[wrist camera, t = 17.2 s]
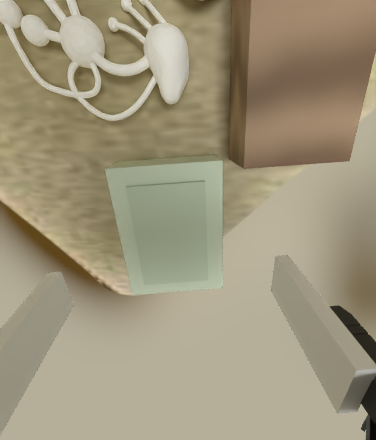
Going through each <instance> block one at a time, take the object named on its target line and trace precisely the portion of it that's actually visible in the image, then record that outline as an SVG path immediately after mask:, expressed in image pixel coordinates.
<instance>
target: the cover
mask: <svg viewBox="0 0 376 440" xmlns="http://www.w3.org/2000/svg"><path fill="white" fill-rule="evenodd" d="M105 174H106V178H107V183H108V187H109V192H110V196H111V201H112V205H113V210H114V214H115V219H116V223H117V228H118V232H119V237H120V241H121V246H122V250H123V255H124V259H125V264H126V268H127V273H128V277H129V282H130V286H131V291H132V295H142V294H152V293H153V294H154V293H167V292H177V291H178V292H179V291H191V290H204V289H215V288H222V287H223V282H222V281H223V276H222V275H223V272H222V271H223V268H222V267H223V260H222V259H223V247H222V246H223V160H222V159H220V158H219V157H218V156H217V155H203V156H189V157H175V158H162V159H148V160H134V161H121V162H115V163H114V164H112V165H110V166H109V167H107V168H105Z"/></svg>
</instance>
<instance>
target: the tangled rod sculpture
mask: <svg viewBox="0 0 376 440" xmlns="http://www.w3.org/2000/svg"><path fill="white" fill-rule="evenodd" d="M66 1H67V4H68V7H69V10H70V13H71V16H69V17H67V16H66V15H65V14H64V12H63V11H62V10H61V8H60V7H59V6H58V4H57V3H56V2H55V0H44V2H45V3H46V4H47V6H48V7H49V8H50V9H51V11H52V12H53V13H54V15H55V16H56V17H57V19H58V20H59V21H60V23H61V28H60V31H59V32H55V31H52V30H49V29H48V27H47V26H46V24H45V23H44V22H43V21H42V20H41V19H40V18H39V17H37V16H35V15H30V14H29V15H25V16H24V17H23V15H22V12H21V9H20V8H19V6H18V5H17V4H16V3H15V2H14V1H13V0H0V22H1V23H2V24H3V25H4V27H5V29H6V31H7V33H8V36H9V38H10V40H11V42H12V44H13V45H14V47H15V49H16V51H17V53H18V54H19V56H20V58H21V60H22V62H23V63H24V65H25V66H26V68H27V69H28V71H29V72H30V73H31V75H32V76H33V77H34V79H35V80H36V81H37V82H38V83H39V84H40V85H41V86H42V87H44V88H46V89H48V90H49V91H52V92H55V93H58V94H61V95H64V96H68V97H73V98H77V100H78V101H79V102H80V103H81V104H82V105H83V106H84V107H86V108H87V109H88V110H89V111H90V112H91V113H93V114H95V115H96V116H98V117H100V118H102V119H105V120H108V121H118V120H122V119H125V118H127V117H129V116H130V115H132V114H133V113H135V112H136V111H137V110H138V109H139V108H140V107H141V106H142V104H143V103H144V102H145V101H146V99H147V98H148V96H149V95H150V93H151V91H152V89H153V88H154V86H155V84H156V83H157V84H158V86H159V89H160V93H161V96H162V98H163V99H164V100H165V102H166V103H168V104H175V103H177V102H178V100H179V99H180V97H181V95H182V92H183V90H184V88H185V86H186V83H187V81H188V77H189V54H188V45H187V42H186V39H185V37H184V35H183V34H182V32H181V31H180V30H179V29H178V28H177V27H176V26H174V25H172V24H169V23H167V22H166V21H165V20H164V18H163V17H162V16H161V15H160V13H159V12H158V11H157V10H156V9H155V7H154V6H153V5H152V4H151V3H150V2H149V1H150V0H139V1H140V3H141V4H142V5H144V6H146V7H147V8H148V9H149V10H150V12H151V13H152V14H153V15H154V17H155V18H156V19H157V20H158V21H159V24H155V25H154V26H151V25H150V24H149V23H148V22H147V21H146V20H145V19H144V18H143V17H142V16H141V15H140V14H139V13H138V12H137V11H136V10H135V9H134V8H133V7H132V2H131V0H121V6H122V8H123V10H124V11H126V12H130V13H131V14H132V15H133V16H134V17H135V18H136V19H137V20H138V21H139V22H140V23H141V24H142V25H143V26H144V27H145V28H146V29H147V30H148V33H147V35H146V38H145V37H144V36H142V35H141V34H140V33H139V32H138V31H136V30H134V29H133V28H131V27H129V26H127V25H126V24H122V23H119V22H118V20H117V19H116V18H113V17H111V18H109V20H108V26H109V28H110V29H111V30H112V31H113V32H116V31H118V29H120V30H124V31H126V32H128V33H130V34H131V35H133V36H135V37H136V38H137V39H138V40H139V41H141V42H142V43H143V44H144V57H142V58H141V59H140V60H138V61H137V62H135V63H131V64H124V65H122V64H116V63H112V62H110V61H108V60H106V59H105V58H104V54H105V43H104V39H103V35H102V33H101V31H100V30H99V28H98V27H97V26H96V25H95V24H94V23H93V22H92V21H91V20H90V19H88V18H87V17H84V16H81V15H80V12H79V9H78V6H77V3H76V0H66ZM200 1H202V0H200ZM20 26H21V30H22V32H23V34H24V36H25V37H26V38H27V40H28V41H29V42H31V43H32V44H34V45H36V46H40V47H41V46H45V45H46V44H48V43H49V40H52V41H55V42H59V43H61V45H62V47H63V50H64V51H65V53H66V54H67V56H68V57H69V58H70V59H71V60H72V63H71V64H70V65H69V68H68V74H67V79H68V84H69V86H70V89H71V90H67V89H63V88H60V87H56V86H53V85H51V84H49V83H47V82H46V81H44V80H43V79H42V78H41V77H40V75H39V74H38V73H37V72H36V70H35V69H34V67H33V66H32V64H31V63H30V61H29V59H28V58H27V56H26V54H25V53H24V51H23V49H22V48H21V46H20V43H19V41H18V39H17V37H16V34H15V32H14V30H13V28H19V27H20ZM97 65H98V66H99V67H100V68H101V69H102V70H104V71H106V72H108V73H110V74H113V75H117V76H132V75H137V74H140V73H141V72H143V71H144V70H146V69H148V68H149V67H150V69H151V71H152V73H153V76H152V78H151V80H150V82H149V83H148V85H147V87H146V89H145V90H144V92H143V94H142V95H141V96H140V98H139V99H138V100H137V101H136V102H135V103H134V104H133V105H132V106H131V107H130V108H129V109H127V110H126V111H124V112H123V113H120V114H115V115H110V114H105V113H102V112H100V111H99V110H97V109H96V108H94V107H93V106H92V105H90V104H89V103H88V102H87V101H86V100H85V99H84V98H91V97H94V96H96V95H97V94H98V92H99V91H100V87H101V77H100V73H99V71H98V68H97ZM79 66H81V67H85V68H91V69H92V71H93V74H94V77H95V86H94V88H93V89H92V90H90V91H86V92H79V91H78V90H77V88H76V86H75V82H74V73H75V71H76V69H77V68H78V67H79Z"/></svg>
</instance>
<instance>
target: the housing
mask: <svg viewBox="0 0 376 440" xmlns="http://www.w3.org/2000/svg"><path fill="white" fill-rule="evenodd" d="M375 52H376V0H232V8H231V74H230V140H229V159H230V160H231V161H233V162H234V163H236V164H238V165H239V166H241V167H242V168H244V169H247V168H261V167H275V166H289V165H302V164H316V163H330V162H344V161H349V160H350V157H351V153H352V148H353V144H354V139H355V136H356V132H357V128H358V123H359V119H360V115H361V111H362V106H363V102H364V98H365V94H366V90H367V85H368V81H369V77H370V73H371V69H372V64H373V60H374V56H375Z"/></svg>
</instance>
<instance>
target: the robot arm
mask: <svg viewBox="0 0 376 440" xmlns="http://www.w3.org/2000/svg"><path fill="white" fill-rule="evenodd" d="M271 291H272V293H273V295H274V297H275V299H276V301H277V302H278V304H279V306H280V308H281V310H282V312H283V314H284V316H285V317H286V319H287V321H288V323H289V325H290V327H291V329H292V330H293V332H294V334H295V336H296V338H297V340H298V341H299V343H300V345H301V347H302V349H303V351H304V353H305V354H306V356H307V358H308V360H309V362H310V364H311V366H312V367H313V369H314V371H315V373H316V375H317V377H318V379H319V381H320V382H321V384H322V386H323V388H324V390H325V391H326V394H327V395H328V397H329V399H330V401H331V403H332V404H333V407H334V408H335V410H336V412H337V413H349V412H357V411H358V409H359V407H360V405H361V404H362V405H363V407H364V408H365V410H366V412H367V413H368V416H367V417H366V419H365V421H364V423H363V424H362V427H361V430H363V431H365V430H366V440H376V342H375V341H374V339H373V338H372V337H371V336H370V335H368V333H367V331H366V330H365V329H364V328H363V327H362V326H360V323H358V321H357V320H356V319H355V318H354V317H353V316H352V314H350V313H349V312H347V311H346V310H344V309H343V308H342V307H340V306H329V305H327V303H326V302H325V301H324V299H323V298H322V297H321V296H320V294H319V293H318V292H317V291H316V289H315V288H314V287H313V286H312V284H311V283H310V282H309V281H308V280H307V278H306V277H305V276H304V274H303V273H302V272H301V271H300V270H299V268H298V267H297V266H296V265H295V264H294V262H293V261H292V260H291V258H290V257H289V256H288V255H283V256H276V257H275V264H274V271H273V279H272V286H271ZM73 306H74V303H73V301H72V298H71V296H70V293H69V291H68V288H67V286H66V283H65V281H64V278H63V275H62V273H61V272H52V273H48V274H47V275H46V276H45V278H44V279H43V280H42V281H41V282H40V284H38V286H37V287H36V288H35V289H34V290H33V292H32V293H31V294H30V295H29V296H28V297H27V299H26V300H25V301H24V302H23V303H22V304H21V306H20V307H19V308H18V309H17V310H16V311H15V313H14V314H13V315H12V316H11V317H10V318H9V320H8V321H7V322H6V323H5V324H4V325H3V327H2V328H1V329H0V435H1V433H2V431H3V430H4V428H5V426H6V424H7V423H8V421H9V419H10V417H11V415H12V413H13V412H14V410H15V408H16V407H17V405H18V403H19V401H20V400H21V398H22V396H23V394H24V393H25V391H26V389H27V387H28V386H29V384H30V382H31V380H32V378H33V377H34V375H35V373H36V371H37V370H38V368H39V366H40V364H41V363H42V361H43V359H44V357H45V355H46V354H47V352H48V350H49V349H50V347H51V345H52V343H53V341H54V340H55V338H56V336H57V334H58V333H59V331H60V329H61V327H62V326H63V324H64V322H65V320H66V319H67V317H68V315H69V313H70V311H71V309H72V308H73Z"/></svg>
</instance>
